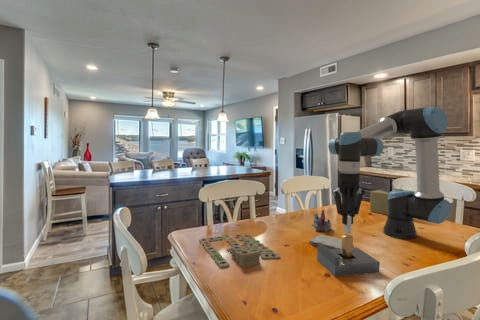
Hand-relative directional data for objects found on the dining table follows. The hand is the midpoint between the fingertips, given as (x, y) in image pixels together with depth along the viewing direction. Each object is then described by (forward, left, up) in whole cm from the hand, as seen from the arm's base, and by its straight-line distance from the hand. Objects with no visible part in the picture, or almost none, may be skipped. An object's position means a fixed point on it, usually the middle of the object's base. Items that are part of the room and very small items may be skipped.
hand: (347, 232), depth 103 cm
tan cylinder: (0, 0, -14) cm, 14 cm away
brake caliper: (-12, -43, -14) cm, 47 cm away
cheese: (-70, -63, -14) cm, 95 cm away
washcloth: (-4, -20, -14) cm, 25 cm away
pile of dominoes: (+40, -24, -14) cm, 49 cm away
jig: (0, 0, -14) cm, 14 cm away
